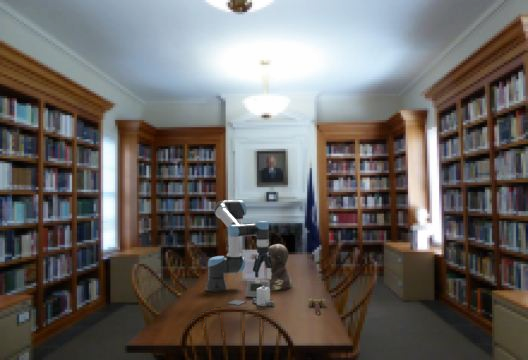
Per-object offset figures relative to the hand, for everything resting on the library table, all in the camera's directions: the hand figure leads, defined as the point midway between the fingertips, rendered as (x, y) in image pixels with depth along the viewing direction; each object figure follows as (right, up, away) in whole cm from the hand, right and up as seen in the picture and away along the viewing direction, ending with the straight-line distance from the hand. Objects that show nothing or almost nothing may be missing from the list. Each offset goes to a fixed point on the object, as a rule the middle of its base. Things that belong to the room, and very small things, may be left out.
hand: (263, 280), depth 241 cm
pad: (-17, -15, +3) cm, 23 cm away
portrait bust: (+11, -17, +53) cm, 57 cm away
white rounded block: (0, -15, 0) cm, 15 cm away
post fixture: (0, -15, 0) cm, 15 cm away
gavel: (+32, -15, -13) cm, 37 cm away
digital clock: (-4, -16, +18) cm, 24 cm away
